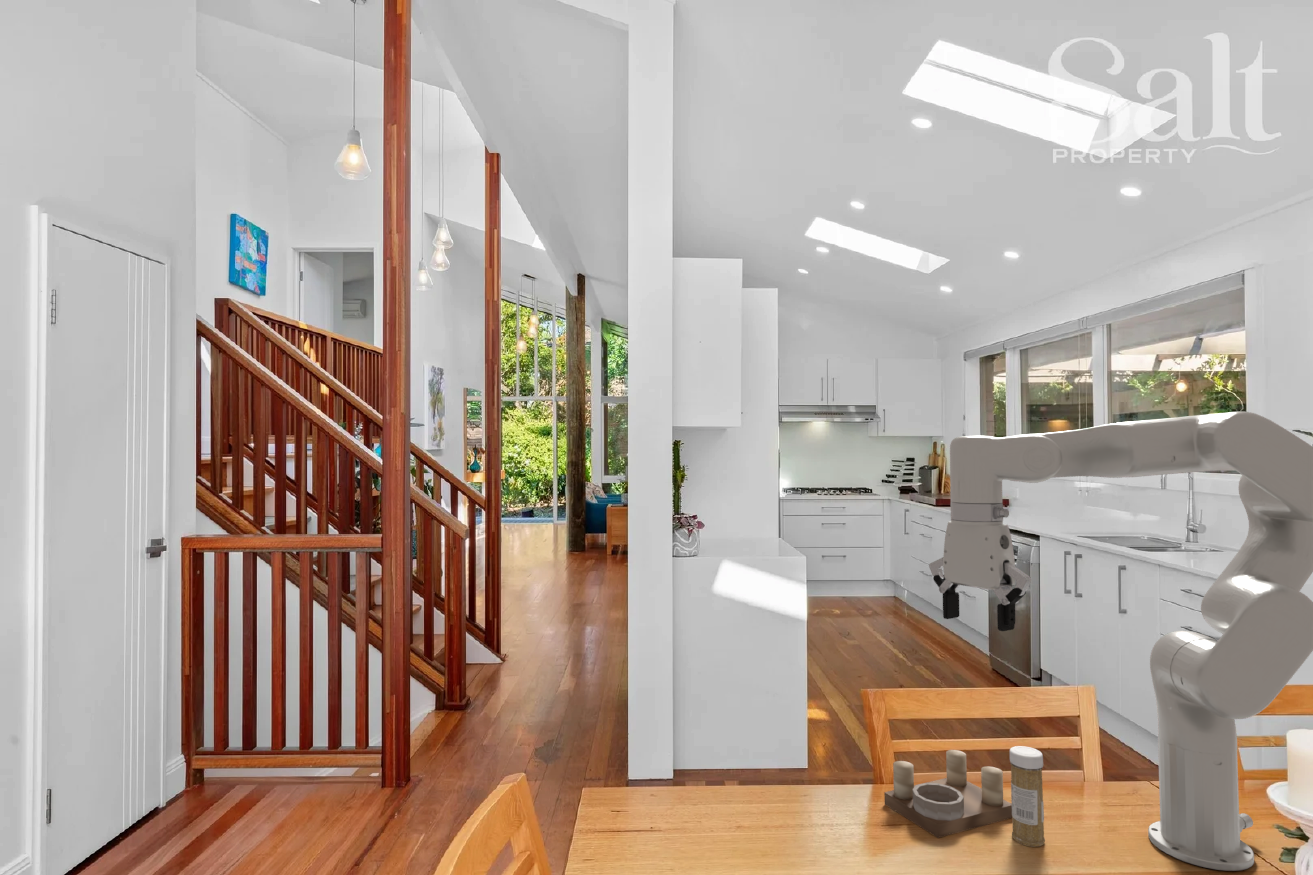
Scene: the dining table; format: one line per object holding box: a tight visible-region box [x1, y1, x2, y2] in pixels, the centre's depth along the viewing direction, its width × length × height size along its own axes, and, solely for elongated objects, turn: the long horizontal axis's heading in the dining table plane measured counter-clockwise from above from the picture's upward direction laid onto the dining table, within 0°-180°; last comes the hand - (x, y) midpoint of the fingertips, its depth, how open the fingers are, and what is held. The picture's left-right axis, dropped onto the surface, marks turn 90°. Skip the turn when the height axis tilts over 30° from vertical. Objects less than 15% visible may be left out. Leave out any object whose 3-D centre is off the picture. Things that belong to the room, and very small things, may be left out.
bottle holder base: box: [883, 749, 1012, 839], centre depth 121 cm, size 16×12×7 cm
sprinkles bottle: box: [1009, 745, 1046, 848], centre depth 112 cm, size 5×5×14 cm
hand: (977, 623), depth 115 cm, fingers open, 9 cm apart
